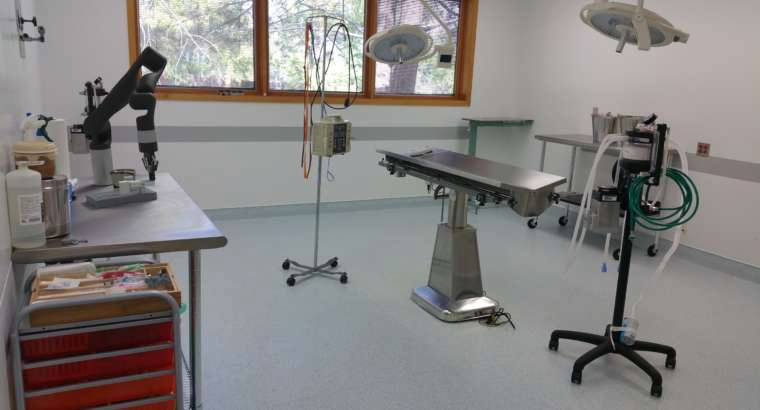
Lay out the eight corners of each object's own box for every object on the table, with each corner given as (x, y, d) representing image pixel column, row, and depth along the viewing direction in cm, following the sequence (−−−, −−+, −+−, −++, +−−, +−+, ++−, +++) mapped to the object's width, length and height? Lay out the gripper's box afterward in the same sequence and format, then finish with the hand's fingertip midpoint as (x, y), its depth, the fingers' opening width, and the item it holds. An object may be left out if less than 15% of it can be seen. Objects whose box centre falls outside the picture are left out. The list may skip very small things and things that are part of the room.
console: (86, 201, 229) (84, 188, 228) (144, 193, 245) (142, 181, 244) (97, 208, 218) (95, 194, 217) (157, 198, 234) (155, 186, 233)
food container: (144, 190, 251) (141, 168, 249) (137, 193, 245) (134, 171, 243) (118, 189, 252) (116, 168, 250) (111, 192, 246) (108, 170, 244)
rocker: (126, 185, 230) (126, 180, 230) (150, 184, 237) (150, 179, 237) (131, 187, 226) (131, 182, 226) (155, 186, 233) (155, 180, 233)
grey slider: (124, 189, 238) (122, 176, 236) (132, 188, 240) (130, 175, 238) (127, 190, 235) (125, 178, 234) (135, 189, 237) (133, 177, 236)
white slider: (119, 194, 228) (118, 181, 227) (127, 193, 230) (126, 180, 229) (122, 195, 226) (120, 182, 224) (130, 194, 228) (129, 181, 226)
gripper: (162, 141, 228) (167, 181, 232) (150, 138, 237) (155, 176, 242) (144, 143, 223) (149, 184, 227) (132, 140, 232) (138, 179, 237)
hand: (152, 180), depth 235 cm, fingers closed
